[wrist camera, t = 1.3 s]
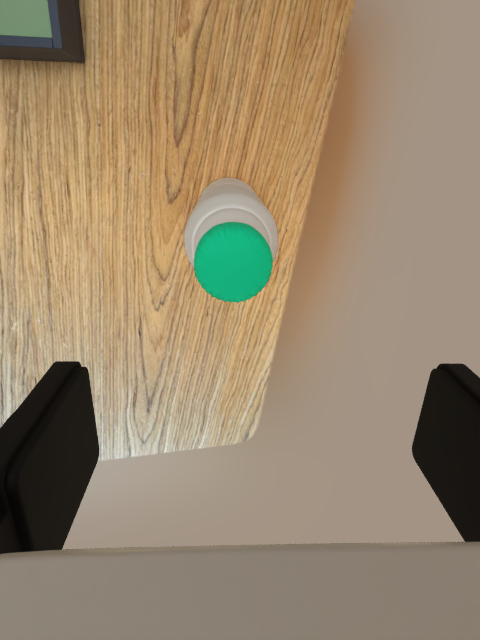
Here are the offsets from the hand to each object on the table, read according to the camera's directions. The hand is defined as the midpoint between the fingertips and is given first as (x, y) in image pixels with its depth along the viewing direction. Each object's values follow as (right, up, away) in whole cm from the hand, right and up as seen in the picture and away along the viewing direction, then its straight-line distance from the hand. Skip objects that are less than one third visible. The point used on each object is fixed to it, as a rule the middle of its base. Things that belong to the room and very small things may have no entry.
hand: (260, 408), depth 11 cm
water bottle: (-2, +15, +35) cm, 38 cm away
